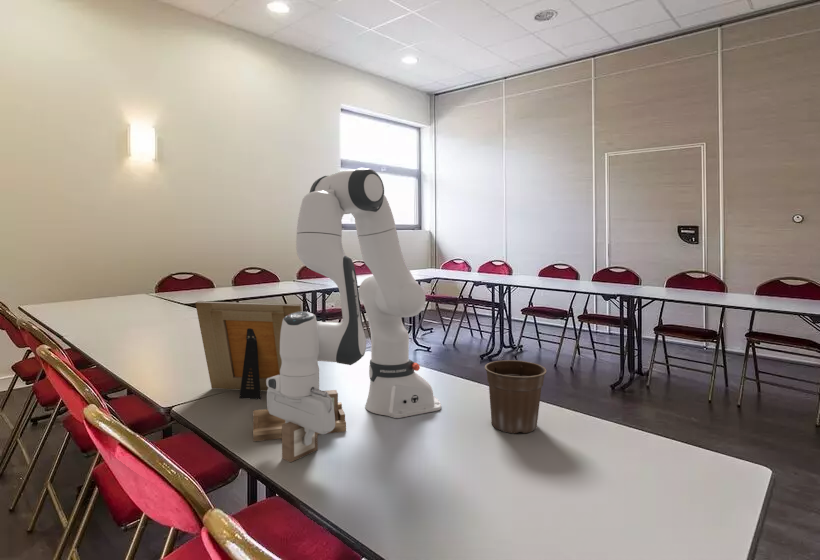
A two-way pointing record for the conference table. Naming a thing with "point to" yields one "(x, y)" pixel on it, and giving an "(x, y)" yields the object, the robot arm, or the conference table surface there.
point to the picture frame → (242, 343)
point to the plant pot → (514, 394)
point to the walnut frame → (296, 442)
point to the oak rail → (272, 425)
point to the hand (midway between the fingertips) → (300, 441)
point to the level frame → (334, 401)
